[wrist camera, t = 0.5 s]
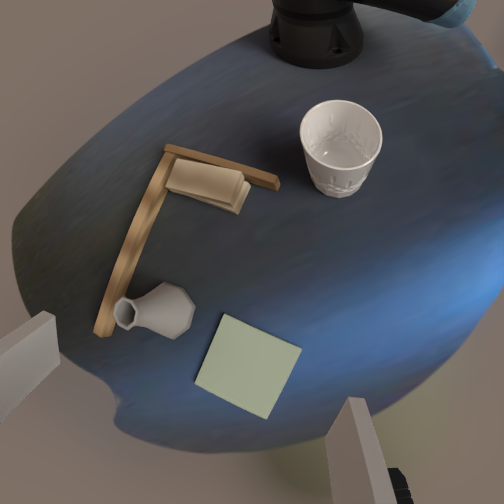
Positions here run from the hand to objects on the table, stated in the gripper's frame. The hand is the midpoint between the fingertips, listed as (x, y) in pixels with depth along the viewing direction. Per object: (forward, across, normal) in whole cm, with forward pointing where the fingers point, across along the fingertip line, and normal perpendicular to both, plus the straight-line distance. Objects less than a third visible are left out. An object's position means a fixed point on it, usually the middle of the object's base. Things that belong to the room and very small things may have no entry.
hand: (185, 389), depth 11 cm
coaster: (+21, +4, -13) cm, 25 cm away
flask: (+25, -8, -10) cm, 28 cm away
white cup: (+28, +9, +11) cm, 31 cm away
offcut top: (+28, -7, +6) cm, 30 cm away
